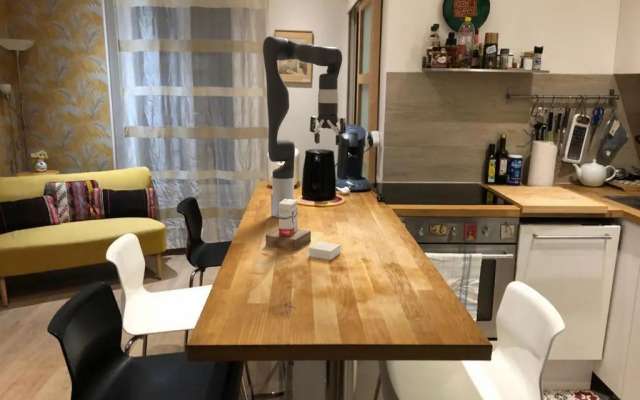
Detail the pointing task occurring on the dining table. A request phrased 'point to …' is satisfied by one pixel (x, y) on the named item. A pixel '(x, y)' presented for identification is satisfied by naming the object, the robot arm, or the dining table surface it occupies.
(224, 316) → the dining table surface
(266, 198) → the dining table surface
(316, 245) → the white square block
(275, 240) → the walnut slab
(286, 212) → the ink box
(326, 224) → the dining table surface
